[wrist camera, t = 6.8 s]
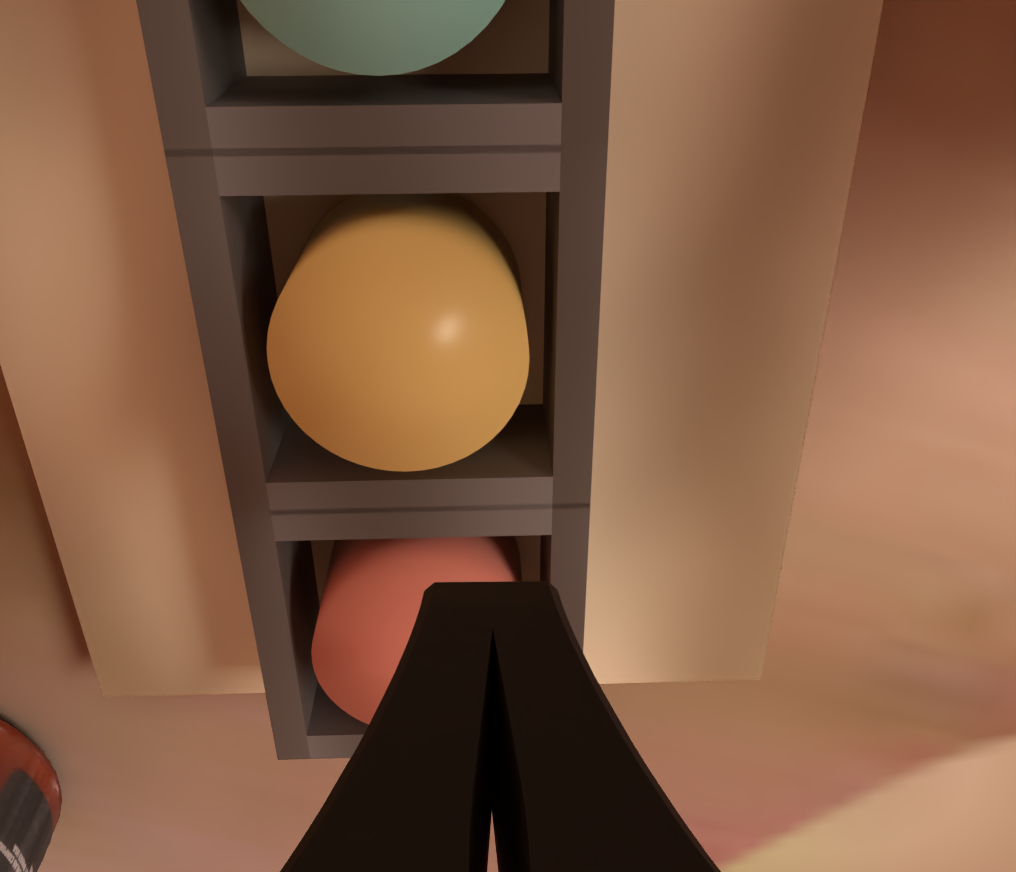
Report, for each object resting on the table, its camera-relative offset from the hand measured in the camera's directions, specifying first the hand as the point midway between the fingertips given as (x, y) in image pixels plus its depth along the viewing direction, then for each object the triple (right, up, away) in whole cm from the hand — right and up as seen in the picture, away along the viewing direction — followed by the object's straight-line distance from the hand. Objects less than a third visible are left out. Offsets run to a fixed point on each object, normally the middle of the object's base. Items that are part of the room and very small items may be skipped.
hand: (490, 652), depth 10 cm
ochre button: (-1, +5, +5) cm, 7 cm away
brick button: (-1, 0, +7) cm, 8 cm away
